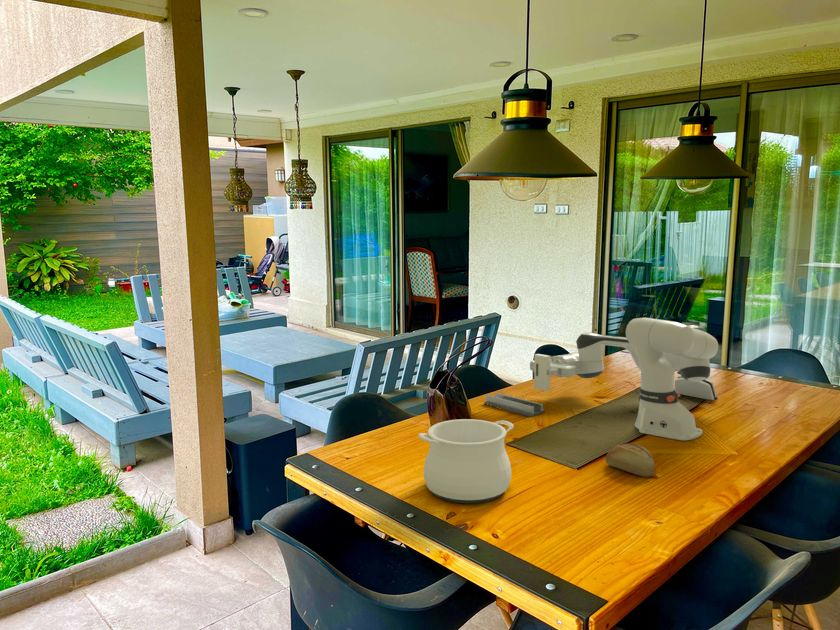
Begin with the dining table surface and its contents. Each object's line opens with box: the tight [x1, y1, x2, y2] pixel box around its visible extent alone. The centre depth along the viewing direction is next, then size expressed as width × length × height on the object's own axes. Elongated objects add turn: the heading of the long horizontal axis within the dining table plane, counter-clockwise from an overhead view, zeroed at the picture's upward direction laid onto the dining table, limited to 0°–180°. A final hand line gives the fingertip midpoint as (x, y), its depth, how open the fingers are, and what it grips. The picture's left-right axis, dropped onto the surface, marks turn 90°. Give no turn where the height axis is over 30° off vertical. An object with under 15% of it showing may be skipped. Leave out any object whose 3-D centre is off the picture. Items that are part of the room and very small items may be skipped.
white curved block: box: [674, 375, 719, 401], centre depth 271 cm, size 17×5×10 cm, turn 41°
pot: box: [417, 418, 515, 505], centre depth 180 cm, size 28×24×17 cm
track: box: [483, 392, 546, 418], centre depth 258 cm, size 24×9×4 cm, turn 41°
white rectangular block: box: [533, 353, 551, 392], centre depth 260 cm, size 6×3×14 cm, turn 41°
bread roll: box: [605, 442, 656, 478], centre depth 192 cm, size 10×15×8 cm, turn 46°
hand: (540, 371), depth 259 cm, fingers closed on white rectangular block, 6 cm apart
